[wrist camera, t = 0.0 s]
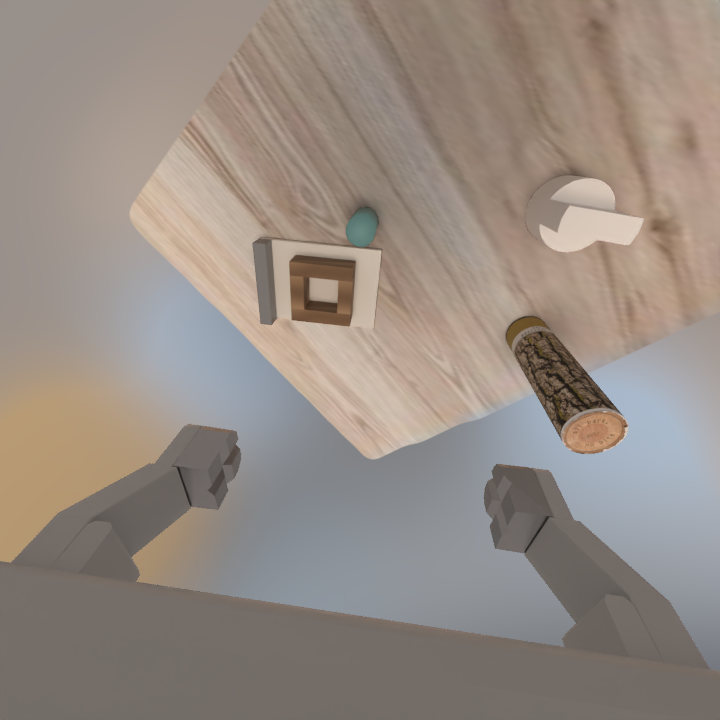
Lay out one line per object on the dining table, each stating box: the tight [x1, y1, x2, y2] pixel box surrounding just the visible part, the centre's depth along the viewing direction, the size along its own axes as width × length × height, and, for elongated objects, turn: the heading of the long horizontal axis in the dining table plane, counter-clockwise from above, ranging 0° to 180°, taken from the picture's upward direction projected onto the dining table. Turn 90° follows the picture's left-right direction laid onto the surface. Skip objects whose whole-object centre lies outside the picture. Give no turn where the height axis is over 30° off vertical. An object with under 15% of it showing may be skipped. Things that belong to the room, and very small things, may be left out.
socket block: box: [289, 255, 356, 326], centre depth 55 cm, size 10×10×4 cm
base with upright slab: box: [525, 175, 644, 252], centre depth 43 cm, size 9×9×12 cm
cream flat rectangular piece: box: [253, 237, 382, 328], centre depth 56 cm, size 14×20×4 cm
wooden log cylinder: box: [506, 317, 628, 454], centre depth 48 cm, size 7×7×25 cm
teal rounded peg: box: [346, 207, 378, 247], centre depth 48 cm, size 4×4×8 cm
